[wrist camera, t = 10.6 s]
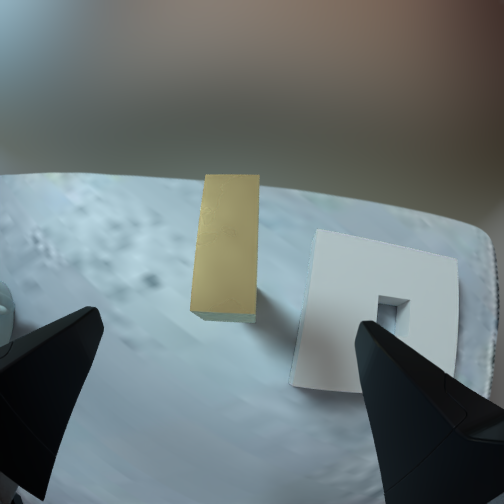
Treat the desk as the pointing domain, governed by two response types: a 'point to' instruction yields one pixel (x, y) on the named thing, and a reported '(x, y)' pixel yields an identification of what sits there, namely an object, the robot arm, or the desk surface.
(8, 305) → the mug
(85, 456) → the desk surface
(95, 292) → the desk surface
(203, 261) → the t key
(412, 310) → the cover plate
